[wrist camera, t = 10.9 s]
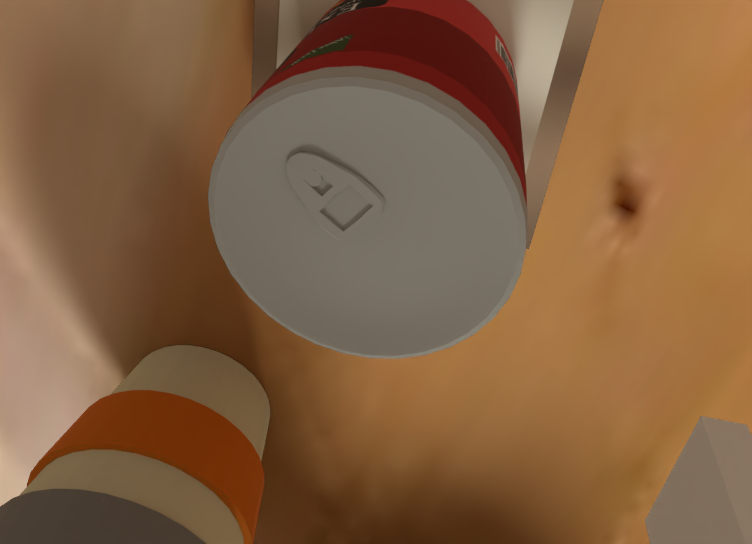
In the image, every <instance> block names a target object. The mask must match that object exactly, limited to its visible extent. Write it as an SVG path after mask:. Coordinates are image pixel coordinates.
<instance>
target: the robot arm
mask: <svg viewBox="0 0 752 544" xmlns="http://www.w3.org/2000/svg"><path fill="white" fill-rule="evenodd" d="M645 523H646V527H647V532H648V536H649V541H650V544H752V436H751V433H750V431H749V429H748V426H747V425H745V424H739V423H734V422H729V421H724V420H719V419H714V418H709V417H704V416H701V417H700V419H699V421H698V423H697V424H696V426H695V428H694V430H693V432H692V434H691V436H690V437H689V439H688V441H687V443H686V445H685V447H684V449H683V450H682V452H681V454H680V456H679V458H678V460H677V462H676V464H675V465H674V467H673V469H672V471H671V473H670V475H669V477H668V478H667V480H666V482H665V484H664V486H663V488H662V490H661V491H660V493H659V495H658V497H657V499H656V501H655V503H654V504H653V506H652V508H651V510H650V512H649V514H648V516H647V518H646V519H645Z"/></svg>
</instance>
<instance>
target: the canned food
mask: <svg viewBox="0 0 752 544" xmlns="http://www.w3.org/2000/svg"><path fill="white" fill-rule="evenodd" d="M208 202H209V214H210V224H211V227H212V230H213V234H214V237H215V241H216V244H217V247H218V250H219V252H220V254H221V256H222V258H223V260H224V262H225V263H226V265H227V267H228V269H229V271H230V273H231V275H232V276H233V277H234V279H235V280H236V281H237V283H238V284H239V285H240V287H241V288H242V289H243V290H244V292H245V293H246V294H247V296H248V297H249V298H250V299H251V300H252V301H253V302H255V303H256V304H257V305H258V306H259V307H260V308H261V309H262V310H263V311H264V312H265V313H266V314H267V315H268V316H270V317H271V318H272V319H274V320H275V321H277V322H278V323H280V324H281V325H282V326H284V327H285V328H287V329H288V330H290V331H291V332H293V333H295V334H297V335H299V336H301V337H303V338H305V339H307V340H309V341H311V342H313V343H315V344H317V345H320V346H323V347H326V348H329V349H332V350H335V351H338V352H341V353H345V354H350V355H356V356H362V357H367V358H388V359H400V358H407V357H414V356H422V355H427V354H430V353H433V352H436V351H439V350H443V349H446V348H449V347H451V346H453V345H455V344H457V343H459V342H461V341H463V340H464V339H466V338H468V337H470V336H472V335H474V334H475V333H476V332H477V331H478V330H480V329H481V328H482V327H483V326H485V325H486V324H487V323H488V322H489V321H491V320H492V319H493V318H494V317H495V315H496V314H497V313H498V312H499V310H500V309H501V308H502V307H503V305H504V304H505V303H506V301H507V300H508V299H509V297H510V295H511V293H512V291H513V289H514V287H515V285H516V283H517V280H518V278H519V276H520V274H521V269H522V264H523V260H524V255H525V250H526V243H527V238H528V220H527V187H526V175H525V164H524V153H523V142H522V131H521V120H520V108H519V97H518V86H517V78H516V74H515V70H514V65H513V61H512V58H511V56H510V53H509V51H508V49H507V47H506V45H505V43H504V40H503V38H502V37H501V35H500V34H499V33H498V31H497V30H496V29H495V27H494V26H493V24H492V23H491V22H490V20H489V19H488V18H487V17H486V16H485V15H483V14H482V13H481V12H480V11H479V10H478V9H477V8H476V7H475V6H474V5H473V4H472V3H470V2H468V1H467V0H340V1H339V2H337V3H336V4H335V5H334V6H333V7H332V8H331V9H330V10H328V11H327V12H326V13H325V14H324V16H323V17H322V18H321V19H320V20H319V21H318V22H317V24H316V25H315V26H314V27H313V28H312V29H311V30H310V32H309V33H308V34H307V35H306V36H305V37H304V38H303V40H302V41H301V42H300V43H299V44H298V45H297V47H296V48H295V49H294V50H293V51H292V52H291V53H290V55H289V56H288V57H287V58H286V59H285V60H284V61H283V63H282V64H281V65H280V66H279V67H278V68H277V69H276V71H275V72H274V73H273V74H272V75H271V76H270V77H269V79H268V80H267V81H266V82H265V83H264V84H263V86H262V87H261V88H260V89H259V90H258V91H257V92H256V94H255V95H254V96H253V98H252V99H251V101H250V102H249V103H248V104H247V106H246V107H245V108H244V109H243V111H242V112H241V113H240V115H239V116H238V118H237V119H236V120H235V122H234V123H233V125H232V126H231V127H230V129H229V130H228V132H227V134H226V136H225V139H224V141H223V142H222V144H221V146H220V149H219V151H218V154H217V157H216V159H215V162H214V164H213V167H212V170H211V177H210V184H209V191H208Z"/></svg>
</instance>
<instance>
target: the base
mask: <svg viewBox="0 0 752 544" xmlns="http://www.w3.org/2000/svg"><path fill="white" fill-rule="evenodd" d="M339 1H340V0H255V2H254V33H253V63H252V94H251V99H252V98H253V96H254V95H255V94H256V92H257V91H258V90H259V89H260V88H261V87H262V86H263V84H264V83H265V82H266V81H267V80H268V79H269V77H270V76H271V75H272V74H273V73H274V72H275V71H276V69H277V68H278V67H279V66H280V65H281V64H282V63H283V61H284V60H285V59H286V58H287V57H288V56H289V55H290V53H291V52H292V51H293V50H294V49H295V48H296V47H297V45H298V44H299V43H300V42H301V41H302V40H303V38H304V37H305V36H306V35H307V34H308V33H309V32H310V30H311V29H312V28H313V27H314V26H315V25H316V24H317V22H318V21H319V20H320V19H321V18H322V17H323V16H324V14H325V13H326V12H327V11H328V10H330V9H331V8H332V7H333V6H334V5H335V4H336V3H337V2H339ZM467 1H468V2H470V3H472V4H473V5H474V6H475V7H476V8H477V9H478V10H479V11H480V12H481V13H482V14H483V15H485V16H486V17H487V18H488V19H489V20H490V22H491V23H492V24H493V26H494V27H495V29H496V30H497V31H498V33H499V34H500V35H501V37H502V38H503V40H504V43H505V45H506V47H507V49H508V51H509V53H510V56H511V58H512V61H513V65H514V70H515V74H516V78H517V86H518V97H519V108H520V120H521V131H522V142H523V153H524V164H525V175H526V187H527V220H528V238H527V243H526V249H529V247H530V244H531V240H532V237H533V234H534V230H535V227H536V224H537V220H538V217H539V214H540V210H541V207H542V204H543V200H544V197H545V193H546V190H547V187H548V183H549V180H550V177H551V173H552V170H553V167H554V163H555V160H556V157H557V153H558V150H559V147H560V143H561V140H562V137H563V133H564V130H565V127H566V123H567V120H568V117H569V113H570V110H571V107H572V103H573V100H574V97H575V93H576V90H577V87H578V83H579V80H580V77H581V73H582V70H583V67H584V63H585V60H586V57H587V53H588V50H589V47H590V43H591V40H592V37H593V33H594V30H595V27H596V23H597V20H598V17H599V13H600V10H601V7H602V3H603V0H467Z"/></svg>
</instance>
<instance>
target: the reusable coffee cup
mask: <svg viewBox="0 0 752 544" xmlns="http://www.w3.org/2000/svg"><path fill="white" fill-rule="evenodd" d="M269 421H270V404H269V400H268V397H267V394H266V392H265V391H264V389H263V387H262V385H261V384H260V382H259V381H258V380H257V379H256V377H255V376H254V375H253V374H252V373H251V372H250V371H249V370H247V369H246V368H245V367H244V366H243V365H241V364H240V363H238V362H237V361H235V360H234V359H232V358H230V357H228V356H226V355H224V354H222V353H220V352H217V351H214V350H211V349H208V348H204V347H199V346H192V345H174V346H169V347H163V348H161V349H158V350H156V351H153V352H151V353H150V354H149V355H147V356H146V357H145V358H143V359H142V360H141V362H140V363H139V364H138V365H137V366H136V367H135V368H134V369H133V370H132V372H131V373H130V374H129V375H128V376H127V377H126V378H125V379H124V380H123V381H122V383H121V384H120V385H119V386H118V387H117V388H116V389H115V390H114V391H113V393H112V394H111V395H109V396H106V397H104V398H101V399H99V400H98V401H97V402H95V403H94V404H93V405H91V406H90V407H89V408H88V409H87V410H86V411H85V412H84V413H83V414H82V415H81V416H80V417H79V419H78V420H77V421H76V422H75V423H74V424H73V425H72V426H71V427H70V428H69V429H68V430H67V432H66V433H65V434H64V435H63V436H62V437H61V438H60V439H59V440H58V441H57V442H56V443H55V445H54V446H53V447H52V448H51V449H50V450H49V451H48V452H47V453H46V454H45V455H44V456H43V458H42V459H41V460H40V461H39V462H38V463H37V465H36V466H35V467H34V469H33V470H32V471H31V473H30V477H29V480H28V483H27V488H26V489H25V490H24V491H23V492H22V493H21V494H20V495H19V496H17V497H15V498H13V499H11V500H10V501H8V502H7V503H5V504H4V505H2V506H1V507H0V544H253V542H254V537H255V531H256V526H257V521H258V515H259V510H260V505H261V499H262V494H263V489H264V470H263V466H262V463H261V461H262V456H263V451H264V446H265V441H266V436H267V431H268V426H269Z"/></svg>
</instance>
